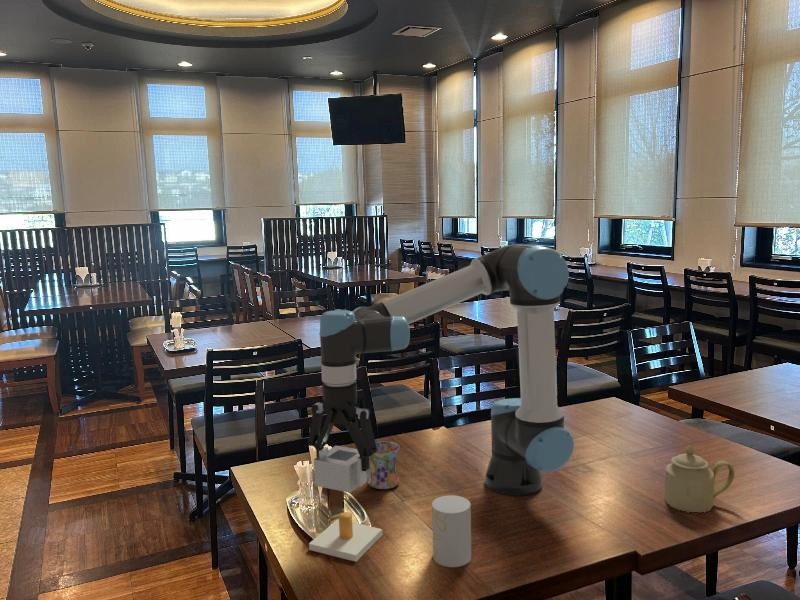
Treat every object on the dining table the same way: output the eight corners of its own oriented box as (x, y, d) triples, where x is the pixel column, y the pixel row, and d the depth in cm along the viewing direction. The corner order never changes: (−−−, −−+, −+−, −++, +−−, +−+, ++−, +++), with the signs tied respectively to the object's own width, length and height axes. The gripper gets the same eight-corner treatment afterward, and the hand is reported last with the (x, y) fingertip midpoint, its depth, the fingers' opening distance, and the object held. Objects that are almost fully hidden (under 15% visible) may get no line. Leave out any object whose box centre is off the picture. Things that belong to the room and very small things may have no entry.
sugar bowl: (699, 487, 166) (701, 432, 163) (735, 505, 155) (738, 446, 153) (654, 498, 160) (656, 441, 158) (688, 517, 150) (690, 456, 148)
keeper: (382, 535, 146) (381, 508, 145) (356, 561, 135) (355, 533, 134) (337, 525, 151) (336, 499, 150) (309, 549, 141) (307, 522, 140)
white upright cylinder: (430, 547, 140) (429, 496, 138) (467, 545, 141) (466, 494, 139) (436, 568, 132) (434, 514, 130) (474, 565, 133) (473, 511, 131)
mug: (404, 489, 169) (403, 451, 168) (370, 494, 167) (369, 456, 166) (393, 471, 181) (392, 436, 179) (361, 476, 179) (360, 440, 177)
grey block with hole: (370, 476, 143) (369, 451, 142) (350, 492, 135) (349, 466, 134) (336, 470, 147) (335, 445, 146) (314, 485, 139) (313, 459, 138)
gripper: (391, 382, 137) (394, 481, 140) (307, 373, 146) (311, 466, 149) (375, 391, 130) (378, 495, 133) (288, 381, 139) (293, 478, 143)
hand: (343, 480), depth 141 cm, fingers closed on grey block with hole, 9 cm apart
